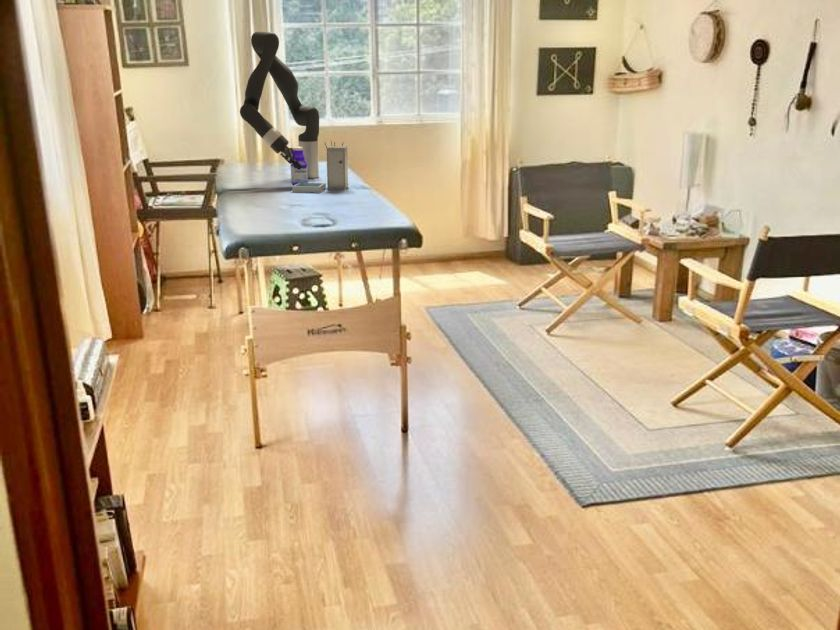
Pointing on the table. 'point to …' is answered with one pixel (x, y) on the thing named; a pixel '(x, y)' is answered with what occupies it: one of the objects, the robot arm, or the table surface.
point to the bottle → (301, 174)
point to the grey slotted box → (337, 167)
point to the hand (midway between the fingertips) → (302, 167)
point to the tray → (309, 187)
